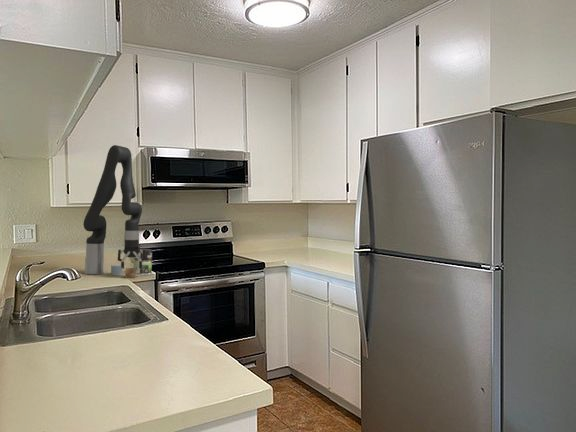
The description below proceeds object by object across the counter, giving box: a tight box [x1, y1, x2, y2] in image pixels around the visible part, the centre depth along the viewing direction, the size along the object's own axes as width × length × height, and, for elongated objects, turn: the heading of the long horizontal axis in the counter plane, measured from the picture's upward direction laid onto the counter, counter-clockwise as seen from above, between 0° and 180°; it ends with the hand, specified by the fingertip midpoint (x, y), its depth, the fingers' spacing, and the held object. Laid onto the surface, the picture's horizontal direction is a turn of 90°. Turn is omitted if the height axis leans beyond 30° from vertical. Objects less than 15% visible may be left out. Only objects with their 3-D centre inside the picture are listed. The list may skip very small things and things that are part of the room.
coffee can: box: [133, 248, 153, 276], centre depth 249 cm, size 10×10×14 cm
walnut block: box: [124, 267, 136, 279], centre depth 235 cm, size 5×5×5 cm
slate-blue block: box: [110, 264, 123, 276], centre depth 245 cm, size 5×5×5 cm
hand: (131, 268), depth 235 cm, fingers open, 8 cm apart
